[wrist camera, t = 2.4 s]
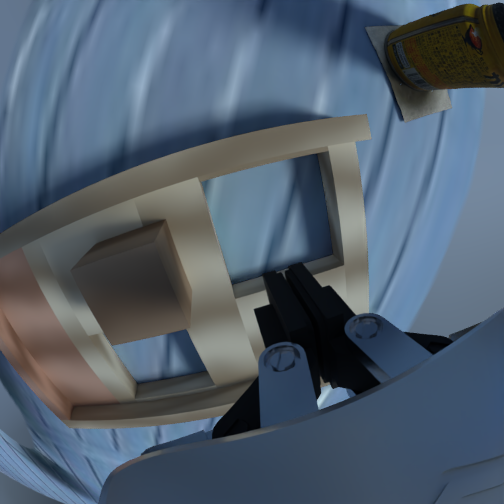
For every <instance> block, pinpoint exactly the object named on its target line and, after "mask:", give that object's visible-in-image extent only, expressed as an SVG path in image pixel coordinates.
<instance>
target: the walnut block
mask: <svg viewBox="0 0 504 504" xmlns="http://www.w3.org/2000/svg"><path fill="white" fill-rule="evenodd" d="M70 272H71V274H72V276H73V278H74V280H75V282H76V284H77V286H78V288H79V290H80V292H81V294H82V295H83V297H84V299H85V301H86V303H87V305H88V307H89V308H90V310H91V312H92V314H93V315H94V317H95V319H96V321H97V322H98V324H99V326H100V327H101V329H102V331H103V332H104V334H105V335H106V337H107V339H108V340H109V342H110V343H111V345H112V346H113V345H118V344H123V343H127V342H132V341H137V340H141V339H146V338H150V337H155V336H159V335H163V334H168V333H172V332H176V331H180V330H184V329H188V328H190V326H191V305H192V288H191V286H190V283H189V281H188V278H187V276H186V273H185V271H184V268H183V265H182V263H181V260H180V257H179V255H178V252H177V249H176V246H175V244H174V241H173V238H172V235H171V232H170V229H169V227H168V224H167V221H166V219H165V220H162V221H159V222H156V223H152V224H149V225H146V226H143V227H141V228H138V229H135V230H132V231H129V232H126V233H123V234H120V235H118V236H115V237H112V238H109V239H106V240H104V241H101V242H98V243H96V244H95V245H94V246H93V247H92V248H91V249H90V250H89V251H88V252H87V253H86V254H85V255H84V256H83V257H82V258H81V259H80V260H79V261H78V262H77V264H76V265H75V266H74V267H73V268H72V269H71V270H70Z"/></svg>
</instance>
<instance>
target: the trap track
mask: <svg viewBox="0 0 504 504" xmlns="http://www.w3.org/2000/svg"><path fill="white" fill-rule="evenodd" d="M370 139H371V134H370V128H369V123H368V118H367V114H363V115H353V116H343V117H335V118H327V119H320V120H313V121H307V122H300V123H295V124H289V125H283V126H278V127H273V128H268V129H263V130H259V131H254V132H250V133H245V134H241V135H237V136H233V137H229V138H225V139H221V140H217V141H214V142H210V143H206V144H203V145H199V146H196V147H193V148H189V149H186V150H183V151H180V152H177V153H173V154H170V155H167V156H164V157H161V158H158V159H156V160H153V161H150V162H147V163H144V164H142V165H139V166H136V167H134V168H131V169H128V170H126V171H123V172H121V173H118V174H116V175H113V176H111V177H108V178H106V179H104V180H101V181H99V182H97V183H94V184H92V185H90V186H88V187H86V188H83V189H81V190H79V191H77V192H75V193H73V194H71V195H69V196H66V197H64V198H62V199H60V200H58V201H56V202H54V203H53V204H51V205H49V206H47V207H45V208H43V209H41V210H39V211H37V212H36V213H34V214H32V215H30V216H29V217H27V218H25V219H23V220H22V221H20V222H18V223H16V224H15V225H13V226H12V227H10V228H8V229H7V230H5V231H3V232H2V233H0V350H1V351H2V352H3V354H4V355H5V357H6V358H7V359H8V361H9V362H10V363H11V365H12V366H13V367H14V369H15V370H16V371H17V373H18V374H19V375H20V376H21V378H22V379H23V380H24V381H25V382H26V384H27V385H28V386H29V387H30V388H31V389H32V391H33V392H34V393H35V394H36V395H37V396H38V397H39V398H40V399H41V400H42V402H43V403H44V404H45V405H46V406H47V407H48V408H49V409H50V410H51V411H52V412H53V413H54V414H55V415H56V416H57V417H58V418H59V419H60V420H61V421H62V422H63V423H65V424H66V425H67V426H68V427H69V428H85V429H110V428H133V427H147V426H158V425H167V424H175V423H182V422H189V421H195V420H201V419H207V418H212V417H218V416H223V415H225V414H226V412H227V411H228V410H229V409H230V408H231V407H232V406H233V405H234V404H235V402H236V401H237V400H238V399H239V398H240V397H241V396H242V394H243V393H244V392H245V391H246V390H247V389H248V387H249V386H250V385H251V384H252V383H253V382H254V380H255V379H256V378H257V377H258V376H259V372H258V360H259V357H260V355H261V353H262V352H263V351H264V350H265V346H264V342H263V339H262V336H261V333H260V329H259V326H258V323H257V319H256V316H255V313H254V309H255V308H258V307H262V306H265V305H268V304H269V300H268V296H267V292H266V288H265V284H264V280H263V276H261V277H258V278H254V279H251V280H247V281H244V282H241V283H237V284H234V285H232V283H231V279H230V276H229V273H228V270H227V267H226V264H225V260H224V257H223V254H222V251H221V248H220V244H219V241H218V238H217V234H216V231H215V228H214V225H213V221H212V218H211V214H210V211H209V208H208V204H207V201H206V197H205V194H204V191H203V187H202V184H201V181H205V180H208V179H212V178H215V177H219V176H222V175H226V174H230V173H233V172H237V171H241V170H245V169H249V168H253V167H257V166H261V165H265V164H269V163H273V162H278V161H282V160H286V159H291V158H296V157H300V156H305V155H310V154H315V153H317V155H318V160H319V165H320V171H321V176H322V182H323V188H324V194H325V200H326V206H327V213H328V219H329V227H330V234H331V242H332V250H333V255H330V256H327V257H323V258H320V259H317V260H314V261H311V262H307V263H304V264H303V265H304V266H305V267H306V268H307V269H308V270H309V272H310V273H311V274H312V275H313V277H314V278H315V279H316V280H317V281H318V283H319V284H320V285H321V286H322V287H325V286H328V285H330V286H331V287H332V288H333V289H334V290H335V291H336V292H337V294H338V295H339V296H340V297H341V298H342V299H343V300H344V302H345V303H346V304H347V305H348V306H349V307H350V309H351V310H352V311H353V312H354V313H355V314H356V315H359V314H363V313H369V272H368V248H367V233H366V220H365V210H364V200H363V192H362V184H361V176H360V169H359V162H358V156H357V150H356V144H355V142H356V141H362V140H370ZM165 219H166V221H167V224H168V227H169V229H170V232H171V235H172V238H173V241H174V244H175V246H176V249H177V252H178V255H179V257H180V260H181V263H182V265H183V268H184V271H185V273H186V276H187V278H188V281H189V283H190V286H191V288H192V305H191V326H190V328H188V329H187V331H188V333H189V336H190V338H191V340H192V342H193V344H194V346H195V348H196V350H197V352H198V353H199V355H200V357H201V359H202V361H203V363H204V365H205V367H206V369H207V371H205V372H200V373H196V374H191V375H186V376H181V377H176V378H171V379H165V380H160V381H154V382H148V383H141V384H137V382H136V381H135V380H134V378H133V377H132V376H131V374H130V373H129V372H128V370H127V369H126V367H125V366H124V365H123V363H122V362H121V360H120V359H119V357H118V356H117V354H116V353H115V351H114V350H113V348H112V347H111V345H110V344H109V342H108V341H107V339H106V338H105V336H104V334H103V333H104V332H103V331H102V329H101V327H100V326H99V324H98V322H97V321H96V319H95V317H94V315H93V314H92V312H91V310H90V308H89V307H88V305H87V303H86V301H85V299H84V297H83V295H82V294H81V292H80V290H79V288H78V286H77V284H76V282H75V280H74V278H73V276H72V274H71V272H70V270H71V269H72V268H73V267H74V266H75V265H76V264H77V262H78V261H79V260H80V259H81V258H82V257H83V256H84V255H85V254H86V253H87V252H88V251H89V250H90V249H91V248H92V247H93V246H94V245H95V244H96V243H98V242H101V241H104V240H106V239H109V238H112V237H115V236H118V235H120V234H123V233H126V232H129V231H132V230H135V229H138V228H141V227H143V226H146V225H149V224H152V223H156V222H159V221H162V220H165ZM286 270H289V269H284V270H281V271H278V272H277V273H279V272H281V273H282V274H283V276H284V277H285V271H286ZM285 279H286V277H285ZM320 380H321V385H320V387H324V386H327V385H329V384H330V383H329V382H328V383H324V382H323V380H322V378H321V376H320Z"/></svg>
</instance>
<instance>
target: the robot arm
mask: <svg viewBox="0 0 504 504" xmlns="http://www.w3.org/2000/svg"><path fill="white" fill-rule="evenodd" d="M288 269H289V270H286V271H285V277H286V279H285V277H284V276H283V274H282V273H281V272H279V273H277V272H276V271H275V270H274V271H271V272H267V273H264V274H262V276H263V280H264V284H265V288H266V292H267V296H268V300H269V304H268V305H265V306H262V307H258V308H255V309H254V313H255V316H256V319H257V323H258V326H259V329H260V333H261V336H262V339H263V342H264V346H265V350H264V351H263V352H262V353H261V355H260V357H259V360H258V372H259V376H258V377H257V378H256V379H255V380H254V382H253V383H252V384H251V385H250V386H249V387H248V389H247V390H246V391H245V392H244V393H243V394H242V396H241V397H240V398H239V399H238V400H237V401H236V402H235V404H234V405H233V406H232V407H231V408H230V409H229V410H228V411H227V412H226V414H225V415H224V416H223V417H222V418H221V419H220V420H219V421H218V422H217V424H216V425H215V427H214V428H213V430H211V431H208V432H205V431H204V430H202V431H199V432H196V433H193V434H191V435H188V436H185V437H182V438H179V439H176V440H173V441H169V442H166V443H163V444H159V445H156V446H153V447H150V448H148V449H146V450H145V451H144V452H143V453H142V454H141V456H139V457H137V458H135V459H132V460H129V461H127V462H126V463H124V464H122V465H120V466H119V467H117V468H116V469H114V470H113V471H112V472H111V473H110V474H109V476H108V477H107V479H106V481H105V483H104V485H103V488H102V490H101V494H100V498H99V502H98V504H504V308H502V309H501V310H499V311H497V312H496V313H495V314H493V315H492V316H490V317H489V318H487V319H486V320H484V321H483V322H480V323H478V324H476V325H474V326H471V327H469V328H466V329H464V330H461V331H459V332H456V333H453V334H451V335H449V338H447V337H444V336H437V335H427V334H417V333H409V332H402V331H401V330H399V329H398V328H397V327H395V326H394V325H393V324H391V323H390V322H389V321H387V320H386V319H385V318H383V317H382V316H380V315H378V314H374V313H363V314H359V315H356V314H355V313H354V312H353V311H352V310H351V309H350V307H349V306H348V305H347V304H346V303H345V302H344V300H343V299H342V298H341V297H340V296H339V295H338V294H337V292H336V291H335V290H334V289H333V288H332V287H331V286H330V285H328V286H325V287H322V286H321V285H320V284H319V283H318V281H317V280H316V279H315V278H314V277H313V275H312V274H311V273H310V272H309V270H308V269H307V268H306V267H305V266H304V265H303V263H302V262H300V263H297V264H294V265H290V266H288ZM320 376H321V378H322V380H323V382H324V383H328V382H329V383H330V385H331V387H332V388H333V389H334V388H337V387H342V388H346V391H347V393H348V395H349V397H350V398H349V399H347V400H344V401H342V402H339V403H337V404H334V405H332V406H329V407H326V408H324V409H321V410H319V409H318V405H317V399H318V398H319V396H320V394H321V387H320V385H321V380H320Z"/></svg>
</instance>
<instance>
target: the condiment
mask: <svg viewBox="0 0 504 504" xmlns="http://www.w3.org/2000/svg"><path fill="white" fill-rule="evenodd" d="M365 29H366V31H367V33H368V35H369V37H370V39H371V41H372V43H373V46H374V48H375V49H376V51H377V54H378V56H379V59H380V61H381V63H382V65H383V68H384V69H385V71H386V73H387V76H388V78H389V80H390V82H391V84H392V88H393V91H394V93H395V97H396V99H397V102H398V104H399V106H400V109H401V111H402V115H403V118H404V121H405V122H408V121H411V120H414V119H417V118H420V117H423V116H426V115H429V114H433V113H436V112H440V111H443V110H447V109H450V108H452V106H451V102H450V98H449V96H448V93H447V89H458V88H489V87H490V88H504V4H503V3H496V4H492V5H482V6H481V7H479V6H476V5H474V4H463V5H459V6H456V7H454V8H451V9H447V10H444V11H441V12H439V13H436V14H432V15H429V16H426V17H423V18H421V19H419V20H416V21H413V22H410V23H408V24H406V25H402V26H371V27H365ZM432 90H433V91H432Z"/></svg>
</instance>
